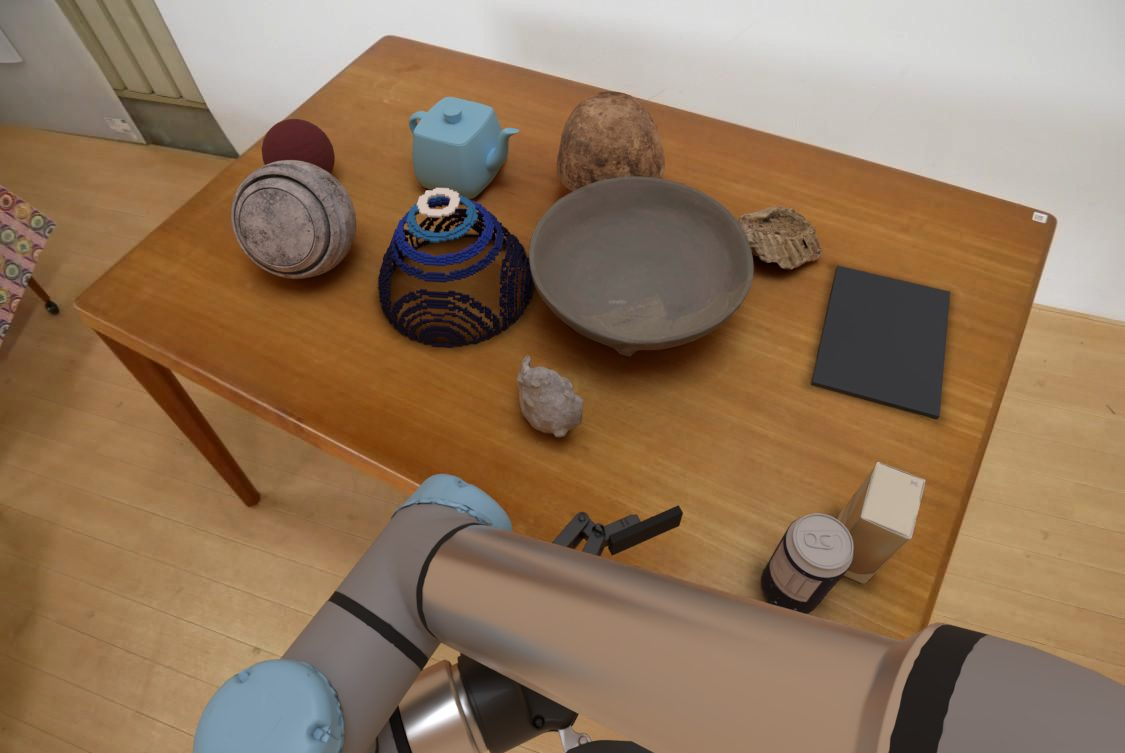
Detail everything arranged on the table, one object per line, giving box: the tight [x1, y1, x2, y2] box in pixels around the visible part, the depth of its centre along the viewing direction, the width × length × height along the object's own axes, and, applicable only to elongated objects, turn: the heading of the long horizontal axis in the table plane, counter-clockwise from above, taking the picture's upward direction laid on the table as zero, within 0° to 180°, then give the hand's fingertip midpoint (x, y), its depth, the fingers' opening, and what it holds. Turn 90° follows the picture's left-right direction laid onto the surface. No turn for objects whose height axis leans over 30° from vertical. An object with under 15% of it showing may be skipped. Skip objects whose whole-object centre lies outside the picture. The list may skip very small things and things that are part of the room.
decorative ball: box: [261, 118, 336, 175], centre depth 101 cm, size 10×10×10 cm
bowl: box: [528, 176, 755, 357], centre depth 85 cm, size 26×26×10 cm
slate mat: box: [810, 265, 951, 420], centre depth 85 cm, size 20×14×1 cm
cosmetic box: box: [836, 461, 926, 585], centre depth 64 cm, size 6×4×12 cm
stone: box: [516, 355, 584, 438], centre depth 75 cm, size 9×7×10 cm
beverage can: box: [760, 512, 854, 614], centre depth 62 cm, size 6×6×12 cm
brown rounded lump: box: [555, 90, 666, 192], centre depth 96 cm, size 15×16×15 cm
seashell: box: [737, 205, 823, 270], centre depth 91 cm, size 11×7×10 cm
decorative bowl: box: [377, 188, 535, 349], centre depth 86 cm, size 20×20×14 cm
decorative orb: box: [230, 160, 357, 280], centre depth 90 cm, size 15×14×15 cm
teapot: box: [408, 96, 520, 200], centre depth 100 cm, size 12×18×12 cm
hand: (721, 587), depth 55 cm, fingers open, 13 cm apart
